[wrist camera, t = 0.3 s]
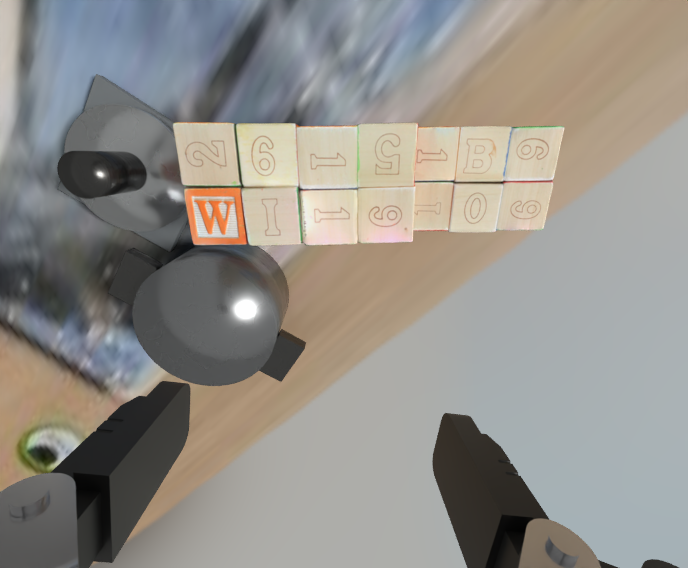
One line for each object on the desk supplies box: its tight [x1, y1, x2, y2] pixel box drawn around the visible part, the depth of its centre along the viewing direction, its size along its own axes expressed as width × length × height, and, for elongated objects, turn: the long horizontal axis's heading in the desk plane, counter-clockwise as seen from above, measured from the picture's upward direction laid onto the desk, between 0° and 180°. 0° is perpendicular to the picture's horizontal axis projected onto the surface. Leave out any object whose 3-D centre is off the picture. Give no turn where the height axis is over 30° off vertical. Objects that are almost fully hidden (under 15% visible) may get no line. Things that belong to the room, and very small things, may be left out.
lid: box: [58, 104, 187, 231], centre depth 25 cm, size 10×10×6 cm
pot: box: [108, 244, 306, 386], centre depth 29 cm, size 11×15×7 cm
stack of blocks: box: [173, 122, 564, 246], centre depth 23 cm, size 21×6×12 cm, turn 90°
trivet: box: [58, 74, 188, 252], centre depth 28 cm, size 10×10×1 cm
